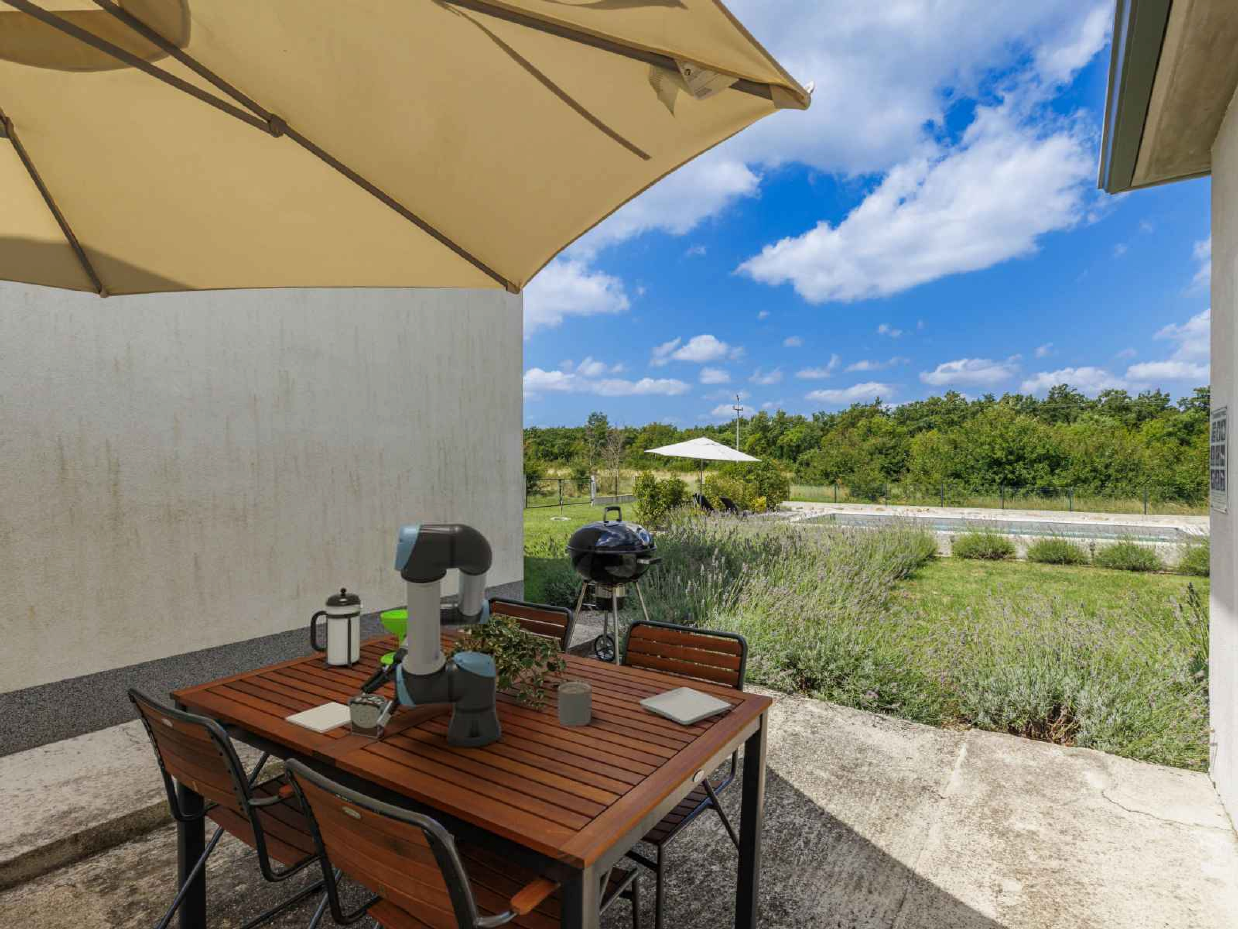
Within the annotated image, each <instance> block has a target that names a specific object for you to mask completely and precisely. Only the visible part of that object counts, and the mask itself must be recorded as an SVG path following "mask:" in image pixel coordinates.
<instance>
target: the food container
mask: <svg viewBox="0 0 1238 929" xmlns="http://www.w3.org/2000/svg"><path fill="white" fill-rule="evenodd" d="M348 699H349V700H348V701H347V706H349V707H350V718H351V722H350V727H351V729H350V730H351V734H352V735H356V736H362V737H367V738H369V737H370V738H374V739H379V738H381V737H382V735H383V730H384V727H383V726H382V725H380V724H379V723H378V722H377V721H378V719H379V718H380V716H381V715H382V713H383V712H384V710H385V708H386V707H387V705H388V701H387V698H386V697H385V696H384V695H383V694H377V693H373V694H366V695H361V694H360V695H356V696H352V697H350V698H348Z"/></svg>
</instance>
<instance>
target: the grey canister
mask: <svg viewBox="0 0 1238 929" xmlns="http://www.w3.org/2000/svg"><path fill="white" fill-rule="evenodd" d="M591 704H592V687H591V685H589V684H588V683H585V682H579V681H578V682H577V681H572V682H567V683H566V682H565V683H563V684H560V685H559V686H558V688H557V723H558V724H560V725H561V726H564V727H568V726H571V728H572V727H573V728H575V727H576V726H579V727H583V726H586V725H588V724H590V723H591V720H592V719H591V717H592V716H591V715H592V714H591V713H592V712H591V711H592V708H591V707H592V705H591ZM589 722H590V723H589Z"/></svg>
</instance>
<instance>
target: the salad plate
mask: <svg viewBox="0 0 1238 929" xmlns="http://www.w3.org/2000/svg"><path fill="white" fill-rule="evenodd" d="M639 704H640V705H641V706H642V707H643V708H644V709H646V710H649V711H651V712H654V713H655V712H656V714H658V715H660V716H662V717H664V716H665V718H667V719H669V720H671V719H672V721H674V722H677V723H678V724H680V725H685V726H686V725H687V726H688V725H691V724H693V723H695V722H699V721H702V720H705V719H707V718H711V717H712V716H715V715H718V714H721V713H723V712H725V711H727V710H728V709H729V708H730V707H732V706H731V705H732V704H731V703H729V702H727V701H724V700H721V699H719V698H716V697H715V696H711V695H709V694H706V693H704V692H701V691H698V690H696V689H692V688H690V687H687V686H683V687H680V688H677V689H673V690H669V691H667V692H663V693H660V694H657V695H654V696H651V697H648V698H645V699H642V700H639ZM704 718H705V719H704Z"/></svg>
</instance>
